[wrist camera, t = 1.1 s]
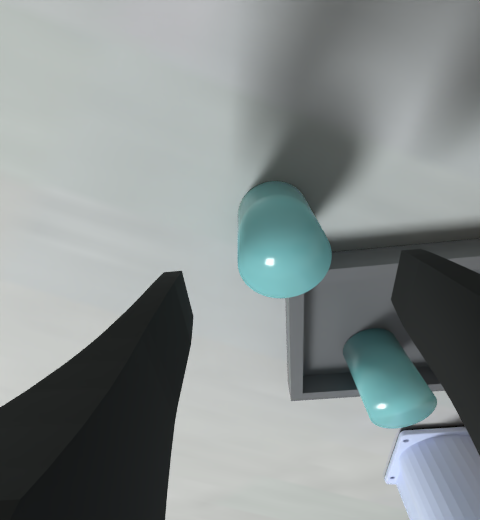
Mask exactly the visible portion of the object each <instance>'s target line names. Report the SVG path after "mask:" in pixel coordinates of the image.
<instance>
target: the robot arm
mask: <svg viewBox="0 0 480 520" xmlns="http://www.w3.org/2000/svg"><path fill="white" fill-rule="evenodd" d="M391 301H392V304H393V306H394V308H395V310H396V313H397V315H398V317H399V319H400V321H401V323H402V325H403V327H404V328H405V330H406V332H407V333H408V335H409V336H410V338H411V339H412V341H413V342H414V344H415V346H416V347H417V349H418V350H419V352H420V353H421V355H422V356H423V358H424V359H425V361H426V362H427V364H428V365H429V367H430V368H431V370H432V371H433V373H434V374H435V376H436V377H437V379H438V380H439V382H440V383H441V385H442V386H443V388H444V390H445V391H446V393H447V395H448V396H449V398H450V400H451V401H452V403H453V405H454V407H455V409H456V411H457V412H458V414H459V416H460V418H461V420H462V422H463V424H464V426H465V427H451V428H435V429H419V430H405V431H402V432H400V434H399V437H398V440H397V443H396V446H395V449H394V452H393V455H392V458H391V460H390V463H389V466H388V469H387V472H386V475H385V478H384V479H385V482H386V483H387V484H396V485H397V488H398V490H399V493H400V495H401V498H402V501H403V503H404V506H405V508H406V511H407V513H408V516H409V519H410V520H480V274H479V273H477V272H475V271H473V270H470V269H468V268H466V267H464V266H461V265H459V264H457V263H455V262H452V261H450V260H448V259H446V258H443V257H441V256H439V255H436V254H434V253H431V252H429V251H426V250H423V249H412V250H402V251H401V254H400V259H399V264H398V268H397V273H396V277H395V282H394V287H393V291H392V296H391ZM192 327H193V313H192V309H191V306H190V302H189V298H188V294H187V290H186V286H185V282H184V278H183V274H182V271H175V272H164V273H163V274H162V275H161V276H160V277H159V278H158V279H157V280H156V281H155V282H154V283H153V284H152V285H151V286H150V287H149V288H148V289H147V290H146V291H145V292H144V294H143V295H142V296H141V297H140V298H139V299H138V300H137V301H136V302H135V303H134V304H133V305H132V306H131V307H130V308H129V309H128V310H127V311H126V312H125V313H124V314H123V315H122V316H121V317H120V318H118V319H117V320H116V321H115V322H114V323H113V324H112V325H111V326H110V327H109V328H108V329H107V330H106V331H105V332H103V333H102V334H101V335H100V336H99V337H98V338H97V339H95V340H94V341H93V342H92V343H91V344H90V345H88V346H87V347H86V348H85V349H83V350H82V351H81V352H80V353H78V354H77V355H76V356H74V357H73V358H72V359H71V360H69V361H68V362H67V363H65V364H64V365H63V366H61V367H60V368H58V369H57V370H55V371H54V372H53V373H51V374H50V375H48V376H47V377H45V378H44V379H43V380H41V381H40V382H38V383H37V384H36V385H34V386H33V387H31V388H30V389H28V390H27V391H25V392H24V393H22V394H21V395H19V396H18V397H16V398H14V399H13V400H11V401H10V402H8V403H7V404H5V405H3V406H2V407H0V520H165V512H166V500H167V489H168V479H169V469H170V459H171V450H172V441H173V433H174V424H175V418H176V412H177V406H178V402H179V397H180V392H181V388H182V383H183V379H184V374H185V369H186V365H187V360H188V355H189V351H190V346H191V338H192Z"/></svg>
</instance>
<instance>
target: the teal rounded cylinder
mask: <svg viewBox="0 0 480 520" xmlns="http://www.w3.org/2000/svg"><path fill="white" fill-rule="evenodd" d="M343 356H344V359H345V361H346V363H347V366H348V368H349V370H350V373H351V375H352V377H353V380H354V382H355V384H356V387H357V389H358V391H359V394H360V396H361V398H362V401H363V403H364V405H365V408H366V410H367V412H368V415H369V417H370V419H371V421H372V422H373V423H374V424H375V425H377V426H380V427H383V428H402V427H407V426H410V425H413V424H416V423H418V422H420V421H422V420H424V419H425V418H427V417H428V416H429V415H430V414H431V413H432V412H433V411H434V409H435V408H436V405H437V399H436V397H435V396H434V394H433V393H432V391H431V390H430V388H429V387H428V385H427V384H426V382H425V381H424V379H423V378H422V376H421V375H420V373H419V372H418V370H417V369H416V367H415V366H414V364H413V363H412V361H411V360H410V358H409V357H408V355H407V354H406V352H405V351H404V349H403V348H402V346H401V345H400V343H399V342H398V340H397V339H396V337H395V336H394V334H393V333H391V332H390V331H388V330H385V329H380V328H373V329H367V330H364V331H361V332H359V333H357V334H355V335H354V336H352V337H351V338H350V339H349V340H348V341H347V342H346V344H345V345H344V348H343Z"/></svg>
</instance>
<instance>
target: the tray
mask: <svg viewBox="0 0 480 520" xmlns="http://www.w3.org/2000/svg"><path fill="white" fill-rule="evenodd" d="M412 249H423V250H426V251H429V252H431V253H434V254H436V255H439V256H441V257H443V258H446V259H448V260H450V261H452V262H455V263H457V264H459V265H461V266H464V267H466V268H468V269H470V270H473V271H475V272H477V273H479V274H480V239H469V240H458V241H447V242H437V243H426V244H415V245H404V246H393V247H383V248H372V249H361V250H350V251H339V252H332V259H331V264H330V268H329V270H328V272H327V274H326V275H325V277H324V278H323V279H322V281H321V282H320V283H319V284H318V285H316V286H315V287H314V288H313V289H311V290H309V291H308V292H306V293H303V294H301V295H298V296H294V297H290V298H285V301H286V335H287V368H288V385H289V391H290V397H291V401H300V400H314V399H329V398H344V397H358V396H360V394H359V391H358V389H357V387H356V384H355V382H354V380H353V377H352V375H351V373H350V370H349V368H348V366H347V363H346V361H345V359H344V356H343V348H344V345H345V344H346V342H347V341H348V340H349V339H350V338H351V337H352V336H354V335H355V334H357V333H359V332H361V331H364V330H367V329H373V328H380V329H385V330H388V331H390V332H391V333H393V334H394V336H395V337H396V339H397V340H398V342H399V343H400V345H401V346H402V348H403V349H404V351H405V352H406V354H407V355H408V357H409V358H410V360H411V361H412V363H413V364H414V366H415V367H416V369H417V370H418V372H419V373H420V375H421V376H422V378H423V379H424V381H425V382H426V384H427V385H428V387H429V388H430V390H431V391H445V390H444V388H443V386H442V385H441V383H440V382H439V380H438V379H437V377H436V376H435V374H434V373H433V371H432V370H431V368H430V367H429V365H428V364H427V362H426V361H425V359H424V358H423V356H422V355H421V353H420V352H419V350H418V349H417V347H416V346H415V344H414V342H413V341H412V339H411V338H410V336H409V335H408V333H407V332H406V330H405V328H404V327H403V325H402V323H401V321H400V319H399V317H398V315H397V313H396V310H395V308H394V306H393V304H392V301H391V296H392V291H393V287H394V282H395V277H396V273H397V268H398V264H399V259H400V254H401V251H402V250H412Z"/></svg>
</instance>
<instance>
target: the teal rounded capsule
mask: <svg viewBox="0 0 480 520" xmlns="http://www.w3.org/2000/svg"><path fill="white" fill-rule="evenodd" d="M331 259H332V251H331V246H330V243H329V241H328V239H327V237H326V235H325V233H324V232H323V230H322V228H321V226H320V224H319V223H318V221H317V219H316V217H315V215H314V214H313V212H312V210H311V208H310V206H309V204H308V203H307V201H306V199H305V197H304V195H303V194H302V193H301V192H300V191H299V190H298V189H297V188H296V187H294V186H293V185H291V184H288V183H286V182H281V181H269V182H265V183H262V184H259V185H257V186H255V187H254V188H252V189H251V190H250V191H249V192H248V193H247V194H246V195H245V196H244V198H243V199H242V201H241V203H240V206H239V209H238V268H239V272H240V275H241V277H242V279H243V280H244V282H245V283H246V284H247V285H248V286H249V287H250V288H251V289H253V290H254V291H256V292H257V293H259V294H262V295H264V296H267V297H272V298H290V297H294V296H298V295H301V294H303V293H306V292H308V291H309V290H311V289H313V288H314V287H315V286H316V285H318V284H319V283H320V282H321V281H322V279H323V278H324V277H325V275H326V274H327V272H328V270H329V268H330V264H331Z"/></svg>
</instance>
